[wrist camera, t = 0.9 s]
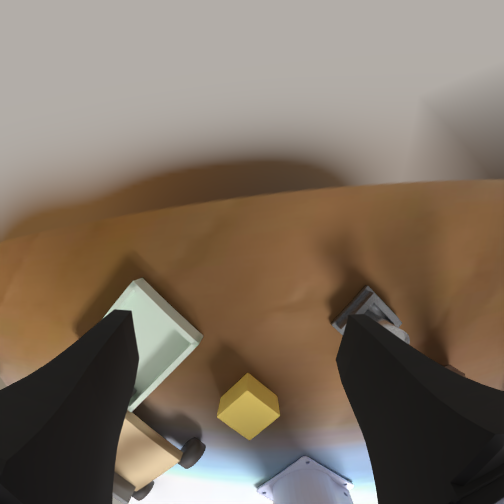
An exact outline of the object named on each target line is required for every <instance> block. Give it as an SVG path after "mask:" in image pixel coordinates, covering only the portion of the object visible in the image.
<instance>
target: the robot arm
mask: <svg viewBox="0 0 504 504" xmlns="http://www.w3.org/2000/svg"><path fill="white" fill-rule="evenodd" d="M336 362H337V366H338V370H339V374H340V378H341V382H342V385H343V387H344V390H345V392H346V395H347V397H348V399H349V402H350V404H351V407H352V409H353V411H354V414H355V416H356V419H357V421H358V423H359V426H360V428H361V431H362V433H363V436H364V439H365V442H366V446H367V449H368V453H369V457H370V461H371V465H372V470H373V475H374V480H375V485H376V491H377V498H378V504H504V391H501V390H498V389H494V388H491V387H488V386H485V385H483V384H480V383H478V382H475V381H473V380H470V379H468V378H466V377H463V376H461V375H459V374H457V373H455V372H453V371H451V370H449V369H447V368H446V367H444V366H442V365H440V364H438V363H437V362H435V361H433V360H432V359H430V358H428V357H427V356H425V355H424V354H422V353H420V352H419V351H417V350H416V349H415V348H413V347H412V346H410V345H409V344H407V343H406V342H404V341H403V340H402V339H400V338H399V337H397V336H396V335H395V334H393V333H392V332H390V331H389V330H388V329H386V328H385V327H383V326H382V325H381V324H379V323H378V322H376V321H375V320H373V319H372V318H370V317H369V316H367V315H365V314H351V315H348V319H347V323H346V326H345V330H344V334H343V337H342V341H341V344H340V347H339V351H338V354H337V357H336ZM138 364H139V353H138V347H137V341H136V335H135V329H134V323H133V316H132V311H131V310H118V309H114V310H113V311H112V312H110V313H109V314H108V315H107V316H105V317H104V318H103V319H102V320H101V321H100V322H98V323H97V324H96V325H95V326H94V327H93V328H92V329H90V330H89V331H88V332H87V333H86V334H84V335H83V336H82V337H81V338H80V339H79V340H77V341H76V342H75V343H74V344H72V345H71V346H70V347H68V348H67V349H66V350H65V351H63V352H62V353H61V354H59V355H58V356H57V357H56V358H54V359H53V360H51V361H50V362H49V363H47V364H46V365H44V366H43V367H41V368H39V369H38V370H36V371H35V372H33V373H32V374H30V375H28V376H26V377H25V378H23V379H21V380H19V381H17V382H15V383H13V384H11V385H9V386H7V387H6V388H4V389H2V390H0V504H112V496H113V481H114V470H115V462H116V454H117V447H118V442H119V438H120V434H121V430H122V426H123V423H124V419H125V416H126V413H127V409H128V406H129V402H130V399H131V396H132V392H133V389H134V385H135V381H136V376H137V370H138ZM307 461H309V462H307ZM345 483H346V484H345ZM353 487H354V485H353V483H351V482H349V481H348V480H346V479H344V478H342V477H341V476H339V475H337V474H335V473H334V472H332V471H330V470H329V469H327V468H325V467H324V466H322V465H320V464H319V463H317V462H315V461H314V460H312V459H311V458H309V457H307V456H303V457H301V458H300V459H299V460H297V461H296V462H295V463H293V464H292V465H290V466H289V467H288V468H286V469H285V470H283V471H282V472H281V473H279V474H278V475H276V476H275V477H273V478H272V479H270V480H269V481H268V482H266V483H265V484H263V485H261V486H260V487H258V488H257V492H258V493H259V494H261V495H263V496H265V497H267V498H269V499H270V500H272V501H273V504H353V501H352V499H351V496H350V493H349V490H350V489H352V488H353Z"/></svg>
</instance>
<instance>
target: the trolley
mask: <svg viewBox="0 0 504 504" xmlns="http://www.w3.org/2000/svg"><path fill="white" fill-rule="evenodd" d="M136 391H137V390H136V389H135V388H134V389H133V392H132V396H133V395H134V394H135V393H136ZM132 396H131V398H132ZM205 448H206V446H205V444H203V443H202V442H201V441H199V440H198V439H196V438H193V439H191V440H190V441H188V442H187V443H186V444H185V445H184V446H183V447H182V449H181V450H179V449H178V448H176V447H175V446H174V445H172V444H171V443H170V442H168V441H167V440H166V439H164V438H163V437H162V436H161V435H159V434H158V433H157V432H155V431H154V430H153V429H152V428H150V427H149V426H148V425H147V424H145V423H144V422H143V421H142V420H141V419H139V418H138V417H137V416H136V415H135V414H134V413H132V412H130V411H128V410H127V413H126V416H125V419H124V423H123V426H122V430H121V434H120V438H119V442H118V447H117V454H116V462H115V470H114V481H113V497H114V498H115V499H117V500H118V501H120V502H121V503H123V504H128V503H129V501H130V498H131V496H132V497H134V498H135V499H136V500H138V501H140V500H142V499H143V498H144V497H146V496H147V494H148V493H149V492H150V491H151V489H152V487H153V485H154V481H153V480H154V479H156V478H157V477H159V476H160V475H161V474H163V473H164V472H166V471H167V470H168V469H170V468H171V467H173V466H174V465H175V464H177V463H178V464H180V465H181V466H182V467H184V468H185V469H188V468H190V467H192V466H193V465H194V464H195V463H196V462H197V461H198V460H199V459H200V458H201V456H202V455H203V453H204V451H205Z"/></svg>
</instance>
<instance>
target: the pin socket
mask: <svg viewBox="0 0 504 504" xmlns="http://www.w3.org/2000/svg"><path fill="white" fill-rule="evenodd" d="M366 311H371V312H373V313H375V314H377V315H378V316H380V317H382V318H383V319H385V320H387V321H388V322H390V323H391V324H393V325H395V326H396V327H398V328H399V326H400V325H401V324H402V322H401V321H400V320H399V318H398V317H397V316H396V315H395V314H394V313H393V312H392V311H391V309H390V308H389V307H388V306H387V305H386V304H385V303H384V302H383V301H382V300H381V299H380V298H379V297H378V296H377V295H376V294H375V293H374V292H373V291H372V289H371V288H370V287H369V286H367V285H365V286H364V288H363V289H362V290H361V291H360V292H359V293H358V294H357V295H356V297H355V298H354V299H353V300H352V301H351V302H350V303H349V304H348V305H347V307H346V308H345V309H344V310H343V311H342V312H341V313H340V314H339V315H338V316H337V317H336V318H335V319H334V321H333V322H332V323H331V325H332V326H333V327H334V328H335V329H336V330H337V331H339V332H340V333H341V334H342V335H343V334H344V330H345V326H346V323H347V319H348V315H351V314H364V313H365V312H366Z"/></svg>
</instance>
